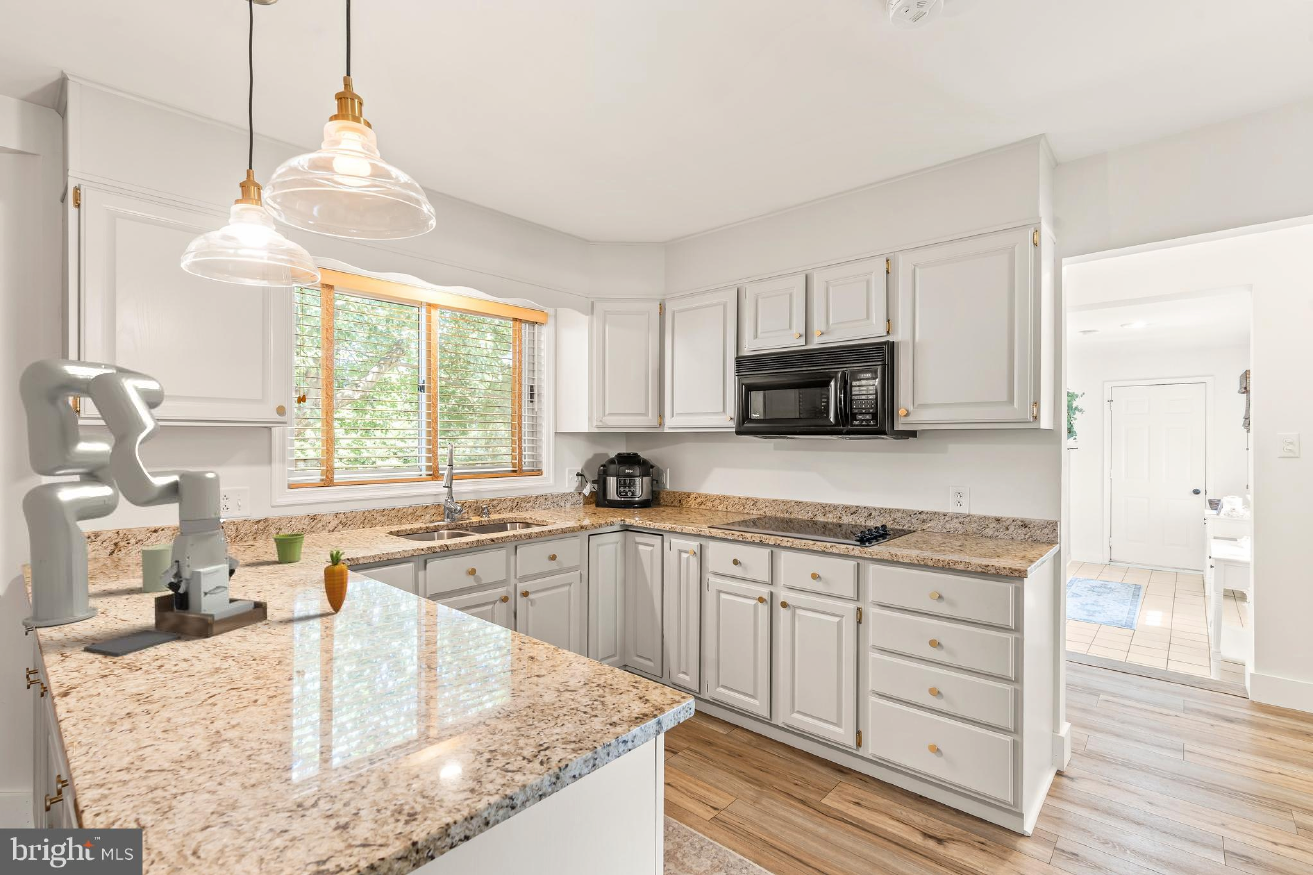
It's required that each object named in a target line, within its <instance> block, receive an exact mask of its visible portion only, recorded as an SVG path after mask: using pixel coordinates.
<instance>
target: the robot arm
mask: <svg viewBox="0 0 1313 875" xmlns="http://www.w3.org/2000/svg"><path fill="white" fill-rule="evenodd" d="M18 388H19V395H20V399H21V402H22V405H23V408H24V411H25V415H26V425H27V426H26V428H27V429H26V431H27V441H28V442H27V444H28V459H29V465H30V467H31V469H32V471H33V472H34V473H35V474H37V475H40V476H42V477H68V476H69V477H70V476H71V477H72V476H79V480H77V481H76V480H75V481H72V480H71V481H57V482H49V483H44V484H40V485H37V486H35V487H32V489H31V488H30V490H28V491H27V492H26V493H25V494H24V497H23V498H22V505H21V506H22V512H23V515H24V516H23V517H24V518H25V522H26V525H27V529H28V537H29V538H28V539H29V555H30V586H31V587H30V589H31V590H30V591H31V592H30V594H31V596H30V597H31V603H30V605H29V607H30V608H31V615H29V616H26V617H24V618H23V619H22V626H23V627H28V628H37V627H38V628H39V627H52V626H58V625H65V624H70V623H71V624H72V623H75V622H80V621H83V620H86V619H89V618H92V617H94V616H96V615H97V614H98V613H99V609H98V607H94V606H90V599H89V598H90V597H89V596H90V595H89V592H90V591H89V561H88V560H89V558H88V556H89V555H88V540H87V536H86V535H85V533H84V531H83V530H82V529H81V528H80V526H79V524H77V522H83V521H87V520H95V519H101V518H105V517H108V516H110V515H111V514H113V513H114V512H115V511H116V509H118V508H117V507H118V506H119V502H120V493H121V495H122V496H123V498H124V499H125V500H126V501H127V502H129V503H130V504H131V505H133V506H135V507H141V508H146V507H148V508H149V507H154V506H163V505H172V504H178V523H179V524H178V528H179V529H178V534H175V535H174V538H173V543H172V544H173V546H172V554H171V567H170V568H168V569H167V570H166V571H165V572H164V573H163V574H161V575H160V576H159V579H160V580H161V582H162V583H163V584H165V586H166V587H167V588H169V589H170V590H169V591H171V593H174V605H175V607H176V610H182V611H185V610H188V592H185V589H186V588H187V586H188V584H189V582H190V580H191V579H192V576H193V572H194V571H195V570H200V569H204V568H209V567H214V566H220V565H225V564H226V565H229V582H230V581H231V580H232V577H233V575H234V574H235V573H236V570H237V568H238V566H239V565H240V563H241V562H240V560H238V559H236V558H235V557H232V556H230V555H229V550H228V548H229V547H228V542H227V538H226V535H225V531H224V530H223V529H222V525H224V524H226V519H225V517H224V518H223V517H222V515H221V486H220V485H221V483H220V482H221V481H220V475H219V473H218V472H216V471H215V470H214V471H212V470H199V471H197V470H196V471H191V470H186V469H176V470H175V469H173V470H171V469H170V470H157V471H148V470H147V469H146V468H145V466H144V465H143V463H142V461H141V459H140V457H139V451H138V450H139V446H141V445H142V444H145V443H147V442H148V441H151V440H152V439H153V438H155V437H156V436H158V434H159V433H160V430H161V427H160V426H161V425H160V424H159V422H158V421H157V419H156V416H155V415H154V414H153V412H152V410H154V409H157V408H158V407H160V406H161V405H163V402H164V399H165V390H164V387H163V386H162V384H161V383H160V382H159V380H157V379H156V378H155V377H153V376H151V375H150V374H146V373H142V372H139V371H134V370H131V369H129V368H126V367H122V366H118V365H115V364H110V363H102V362H96V361H95V362H94V361H84V360H78V359H77V360H76V359H69V358H68V359H67V358H45V359H39V360H36V361H35V362H32V363H30V364H29V365H28V366H26V368H25V369H24V370H23V372H22V374H21V376H20V379H19V387H18ZM68 397H69V398H71V397H73V398H85V399H86V398H88V399H91V401H92V403H93V405H94V407H95V408H96V410H97V412H98V413H99V416H100V417H101V419H102V420H103V422H104V424H105V426H106V427H107V429H108V431H109V432H110V434H111V436H112V438H113V440H114V444H112V443H111V442H110V441H109V440H108V439H107V438H105V437H102V436H98V435H94V434H92V435H91V434H86V435H85V434H80V430H79V429H80V428H79V417H78V415H77V413H76V411H75V408H74V407H73V406H72V405H71V404H70V403H69V402H68V401H67V400H66V398H68ZM178 570H180V573H181V574H182V577H180V575H179V576H175V577H178V578H177V579H176V578H175V577H174V574H175V573H176V572H177V571H178ZM171 578H173V579H176V581H175V582H173V581H172V579H171ZM181 581H182V583H181Z"/></svg>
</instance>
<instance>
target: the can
mask: <svg viewBox="0 0 1313 875" xmlns="http://www.w3.org/2000/svg"><path fill="white" fill-rule="evenodd" d="M172 546H173V543H165V544H156V545H149V546H145V547H142V548H141V562H142V563H141V564H142V568H141V570H142V589H141V591H142V593H159V592H158V591H162V592H165V591H164V590H169V591H171V590H170V589H169V588H167V587H166V586H165V584H163V583H162V582H161V580H160V579H159V576H160V575H161V574H163V573H164V572H165V571H166V570H167V569H168V568H170V567H171V554H172ZM171 579H172V581H173V582H174V579H173V578H171Z"/></svg>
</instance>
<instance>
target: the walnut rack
mask: <svg viewBox="0 0 1313 875" xmlns="http://www.w3.org/2000/svg"><path fill="white" fill-rule="evenodd" d="M236 601H253V602H254V609H253V610H249V611H246V612H242V613H239V614H235V615H232V616H228V617H225V618H221V619H218V620H214V621H213V617H208V616H200V615H193V614H186V613H178V612H174V592H171V593H168V594H163V595H160V596H159V595H158V596H154V629H157V630H156V631H160V632H161V631H162V632H167V631H169V632H168V633H173V634H180V633H182V635H188V636H193V637H200V636H201V637H202V636H203V637H202V638H207V639H209V638H212V636H213V637H216V636H218V635H222V634H225V633H228V632H231V631H234V630H238V629H241V628H245V627H247V626H251V625H255V624H257V623H260V622H264V621H267V620H268V601H261V600H254V599H253V600H251V599H245V598H235V597H229V604H230V603H233V602H236Z"/></svg>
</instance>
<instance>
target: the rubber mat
mask: <svg viewBox="0 0 1313 875" xmlns="http://www.w3.org/2000/svg"><path fill="white" fill-rule="evenodd" d="M181 638H182V637H181V634H177V633H170V632H164V631H162V632H161V631H158V630H149V629H146V630H145V629H144V630H142V631H137V632H133V633H130V634H126V635H123V636H118V637H116V638H112V639H108V640H104V641H101V642H97V643H94V644H89V645H86V646H84V647H83V651H88V652H93V653H97V654H105V655H108V656H109V655H110V656H115V657H122V656H124V655H129V654H132V653H135V652H138V651H141V650H145V649H148V648H152V647H155V645H156V646H159V645H162V644H165V643H168V642H172V641H175V640H179V639H181Z"/></svg>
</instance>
